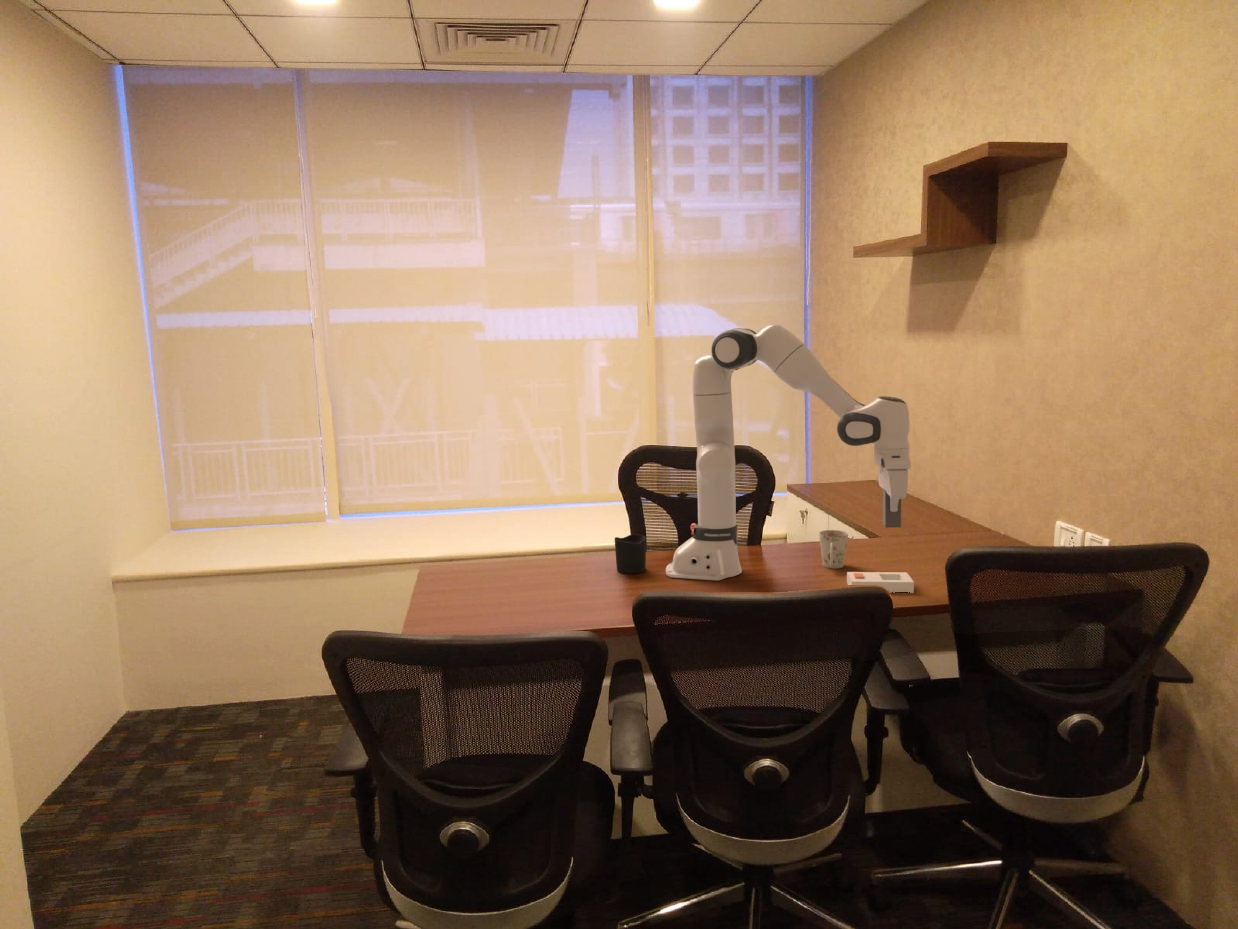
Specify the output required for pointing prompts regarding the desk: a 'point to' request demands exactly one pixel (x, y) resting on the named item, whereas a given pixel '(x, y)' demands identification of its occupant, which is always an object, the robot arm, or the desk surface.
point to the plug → (890, 513)
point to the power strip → (883, 580)
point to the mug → (833, 548)
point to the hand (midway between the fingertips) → (891, 509)
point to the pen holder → (630, 554)
